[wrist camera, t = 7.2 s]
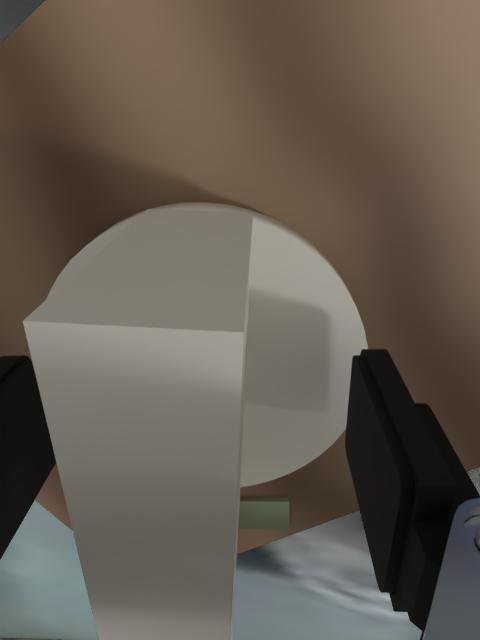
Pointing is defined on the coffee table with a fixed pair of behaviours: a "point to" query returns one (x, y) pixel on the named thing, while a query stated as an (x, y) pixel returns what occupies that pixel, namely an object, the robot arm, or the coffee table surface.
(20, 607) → the coffee table surface
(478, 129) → the dial board
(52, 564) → the coffee table surface
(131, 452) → the dial knob
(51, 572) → the coffee table surface
